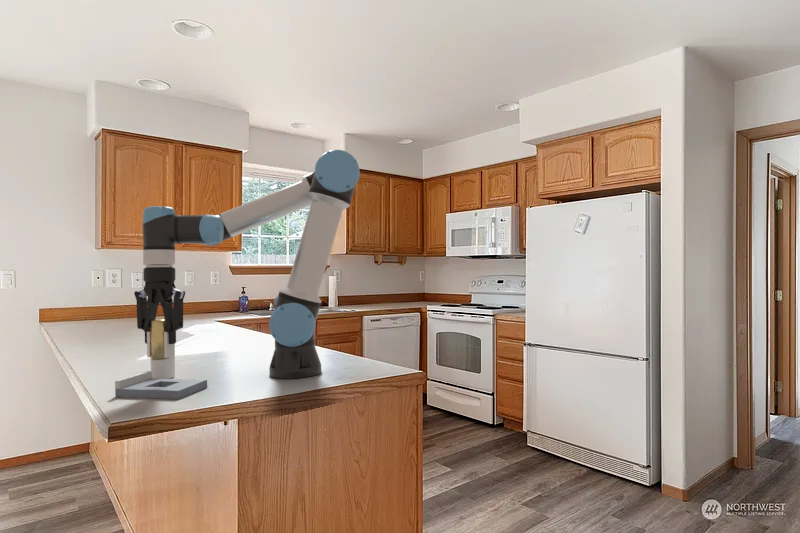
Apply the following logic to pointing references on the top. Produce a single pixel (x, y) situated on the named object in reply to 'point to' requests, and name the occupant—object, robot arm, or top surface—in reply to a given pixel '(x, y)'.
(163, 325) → the gold rectangular block
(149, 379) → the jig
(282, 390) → the top surface
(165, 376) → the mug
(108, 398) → the top surface
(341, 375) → the top surface
